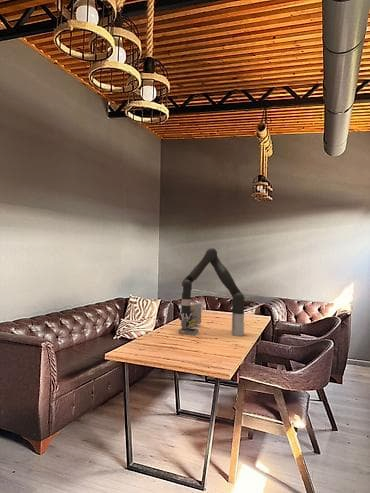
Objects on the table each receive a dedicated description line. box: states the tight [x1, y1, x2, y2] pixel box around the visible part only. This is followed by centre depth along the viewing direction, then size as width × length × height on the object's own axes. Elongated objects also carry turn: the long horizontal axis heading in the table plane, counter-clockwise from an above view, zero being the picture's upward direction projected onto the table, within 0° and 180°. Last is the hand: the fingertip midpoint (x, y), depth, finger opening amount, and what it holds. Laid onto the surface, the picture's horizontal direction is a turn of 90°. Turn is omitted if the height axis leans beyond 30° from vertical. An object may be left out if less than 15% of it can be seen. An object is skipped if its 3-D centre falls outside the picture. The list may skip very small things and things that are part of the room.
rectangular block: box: [181, 319, 188, 329], centre depth 313 cm, size 3×6×7 cm, turn 157°
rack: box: [178, 328, 199, 336], centre depth 312 cm, size 13×10×3 cm
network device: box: [180, 302, 202, 329], centre depth 334 cm, size 26×9×20 cm, turn 146°
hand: (185, 326), depth 313 cm, fingers closed on rectangular block, 3 cm apart
